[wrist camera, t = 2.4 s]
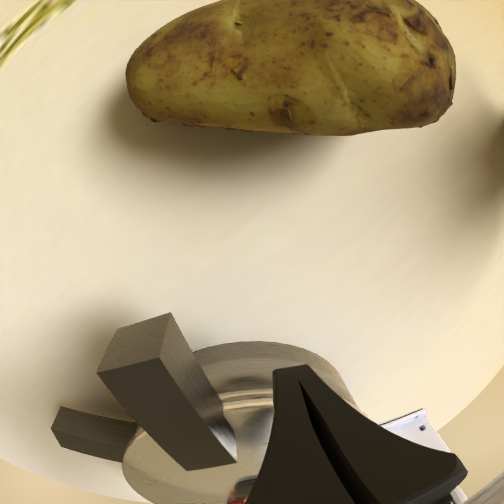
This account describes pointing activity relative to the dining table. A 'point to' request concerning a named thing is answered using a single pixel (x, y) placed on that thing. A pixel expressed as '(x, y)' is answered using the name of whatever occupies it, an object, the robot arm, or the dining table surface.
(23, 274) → the dining table surface
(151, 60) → the potato
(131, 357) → the lid
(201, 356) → the pot
